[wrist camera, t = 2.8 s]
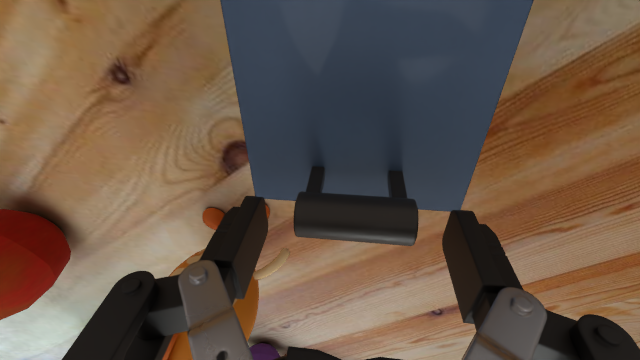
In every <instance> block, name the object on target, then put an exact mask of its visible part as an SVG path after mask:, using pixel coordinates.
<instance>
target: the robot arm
mask: <svg viewBox="0 0 640 360" xmlns="http://www.w3.org/2000/svg"><path fill="white" fill-rule="evenodd" d="M267 232H268V219H267V213H266V206H265V200H264V198H263V197H257V196H246V197H245V198H244V200H243V202H242V204H241V206H240V207H232V208H231V209H230V210H229V211H228V212H227V213H225V215H224V216H223V218H222V220H221V222H220V225H218V227H217V229H216V232H215V233H214V234H213V236H212V238H211V240H210V242H209V243H208V245H207V247H206V249H205V251H204V252H203V254H202V256H201V258H200V259H199V261H197V262H194V263H192V264H190V265H188V266H187V267H186V268H185V269H184V270H183V271H182V272H181V274H178V275H174V276H169V277H164V278H158V279H155V278H154V276H153V275H152V274H151V273H150V272H147V271H137V272H133V273H131V274H128V275H126V276H125V277H123V278H122V279H120V280H119V281H118V282H117V283H116V284H115V285H114V287H113V288H112V289H111V291H110V292H109V294H108V295H107V296H106V298H105V299H104V301H103V302H102V303H101V305H100V306H99V308H98V309H97V311H96V312H95V313H94V315H93V316H92V318H91V319H90V320H89V322H88V323H87V325H86V326H85V328H84V329H83V330H82V332H81V333H80V335H79V336H78V338H77V339H76V340H75V342H74V343H73V345H72V346H71V347H70V349H69V350H68V352H67V353H66V355H65V356H64V357H63V359H62V360H162V359H163V357H164V355H165V352H166V350H167V348H168V346H169V343H170V341H171V339H172V337H173V335H174V334H176V333H180V332H185V331H187V336H188V341H189V345H190V350H191V354H192V358H193V360H254V359H253V356H252V354H251V351H250V348H249V346H248V343H247V341H246V338H245V335H244V333H243V330H242V328H241V325H240V322H239V320H238V317H237V315H236V312H235V310H234V308H233V306H232V305H233V303H234V300H235V299H244V298H245V295H246V292H247V289H248V287H249V284H250V281H251V278H252V275H253V273H254V270H255V267H256V264H257V261H258V258H259V256H260V253H261V250H262V247H263V244H264V242H265V239H266V236H267ZM442 246H443V252H444V255H445V259H446V262H447V266H448V269H449V273H450V276H451V280H452V284H453V287H454V291H455V294H456V298H457V301H458V305H459V309H460V312H461V316H462V319H463V323H470V324H475V327H476V331H477V332H476V334H475V335H474V337H473V339H472V341H471V343H470V345H469V347H468V348H467V350H466V352H465V354H464V356H463V358H462V360H640V349H639V348H638V346H637V345H636V343H635V342H634V340H633V339H632V337H631V336H630V335H629V334H628V333H627V332H626V331H625V330H624V329H623V328H621V327H620V326H619V325H617V324H616V323H614V322H612V321H611V320H609V319H607V318H604V317H601V316H598V315H592V314H588V315H584V316H582V317H581V318H580V319H579V320H578V321H576V320H573V319H570V318H567V317H564V316H561V315H559V314H556V313H553V312H550V311H548V310H546V309H545V308H544V306H543V305H542V304H541V302H540V301H539V300H538V299H537V298H536V297H534V296H533V295H532V294H530V293H528V292H526V291H524V290H523V288H522V286H521V284H520V282H519V280H518V278H517V276H516V274H515V272H514V270H513V268H512V266H511V264H510V262H509V260H508V258H507V256H505V252H504V250H503V248H502V247H501V244H500V242H499V240H498V238H497V236H496V234H495V233H494V232H493V231H492V230H491V229H490V228H489V227H488V226H487V225H486V224H479V223H478V221H477V218H476V216H475V214H474V212H473V211H464V210H452V211H451V213H450V216H449V219H448V222H447V225H446V228H445V231H444V235H443V240H442ZM273 360H341V359H339V358H337V357H334V356H332V355H329V354H327V353H324V352H322V351H320V350H315V349H307V348H298V347H288V352H287V355H286V356H281V357H278V358H275V359H273ZM366 360H401V359H393V358H384V357H378V358H372V359H366Z"/></svg>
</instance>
